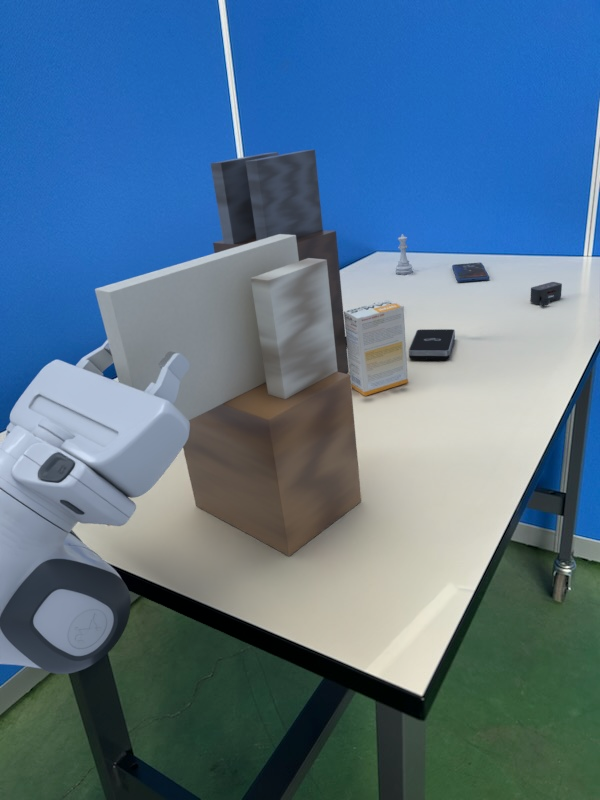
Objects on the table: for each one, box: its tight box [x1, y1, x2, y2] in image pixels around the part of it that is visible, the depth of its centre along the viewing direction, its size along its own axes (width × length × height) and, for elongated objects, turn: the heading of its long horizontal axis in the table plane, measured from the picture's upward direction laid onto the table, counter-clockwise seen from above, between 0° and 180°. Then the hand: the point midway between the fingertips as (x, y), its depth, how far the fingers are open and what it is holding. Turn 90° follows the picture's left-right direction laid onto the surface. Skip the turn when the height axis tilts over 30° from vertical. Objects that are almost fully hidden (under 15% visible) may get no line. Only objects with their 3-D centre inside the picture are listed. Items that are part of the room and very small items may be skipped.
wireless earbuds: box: [529, 281, 563, 307], centre depth 128 cm, size 5×7×3 cm, turn 115°
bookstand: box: [210, 149, 350, 374], centre depth 101 cm, size 12×16×36 cm
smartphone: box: [451, 262, 491, 283], centre depth 155 cm, size 8×1×15 cm
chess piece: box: [395, 233, 414, 276], centre depth 162 cm, size 4×4×10 cm
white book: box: [94, 234, 299, 421], centre depth 61 cm, size 22×2×14 cm, turn 136°
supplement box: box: [343, 299, 409, 397], centre depth 98 cm, size 8×5×13 cm, turn 114°
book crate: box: [182, 258, 362, 557], centre depth 68 cm, size 12×16×28 cm
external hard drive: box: [408, 328, 456, 361], centre depth 111 cm, size 7×11×2 cm, turn 162°
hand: (150, 348), depth 56 cm, fingers open, 8 cm apart
